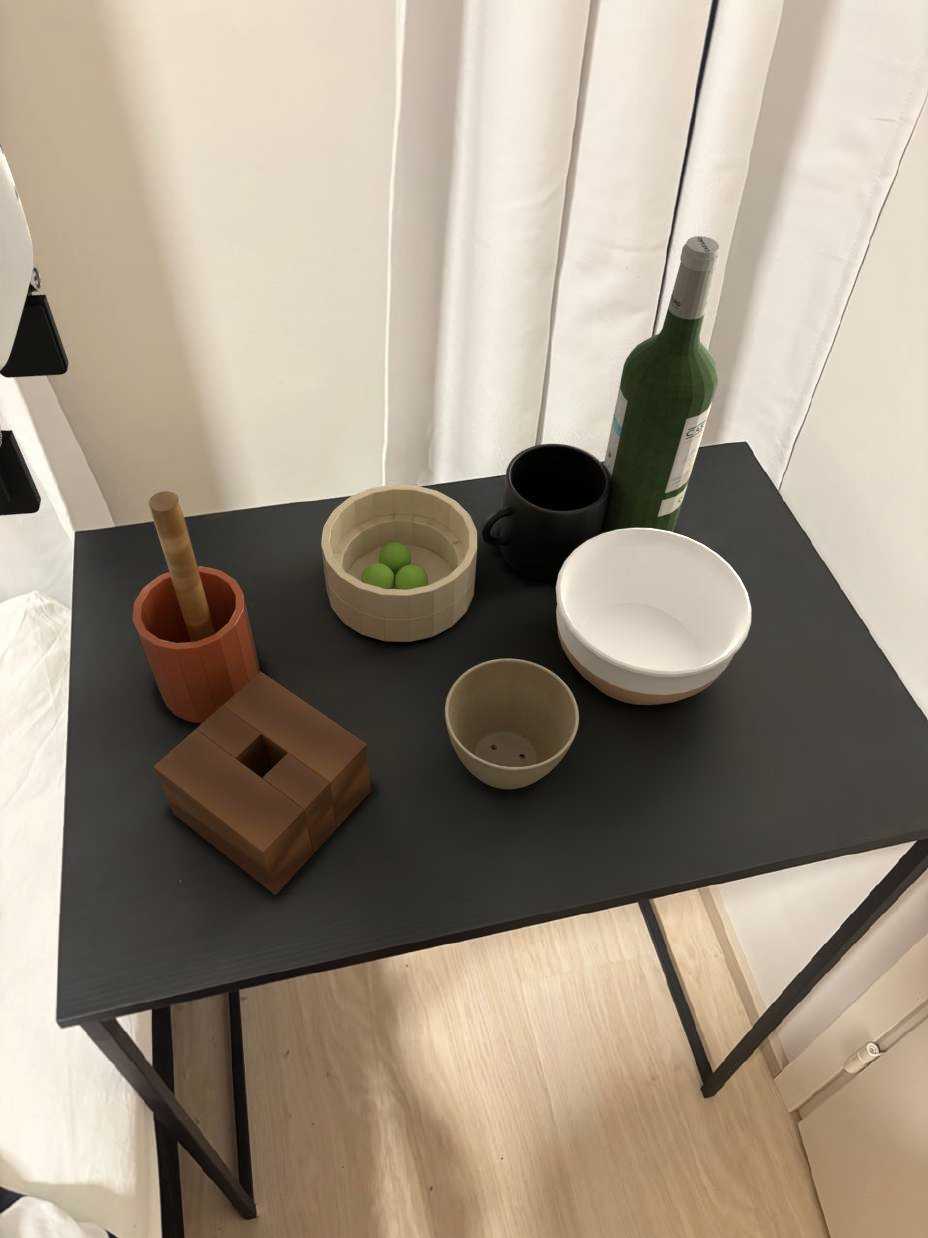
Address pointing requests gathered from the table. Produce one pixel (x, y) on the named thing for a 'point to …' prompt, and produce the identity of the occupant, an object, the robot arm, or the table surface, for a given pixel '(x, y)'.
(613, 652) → the bowl
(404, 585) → the pea
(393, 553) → the pea
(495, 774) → the flower pot
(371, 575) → the pea
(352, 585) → the mixing bowl
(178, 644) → the crock
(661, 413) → the wine bottle
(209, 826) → the holder
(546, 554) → the mug
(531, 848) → the table surface
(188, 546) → the wooden dowel peg
